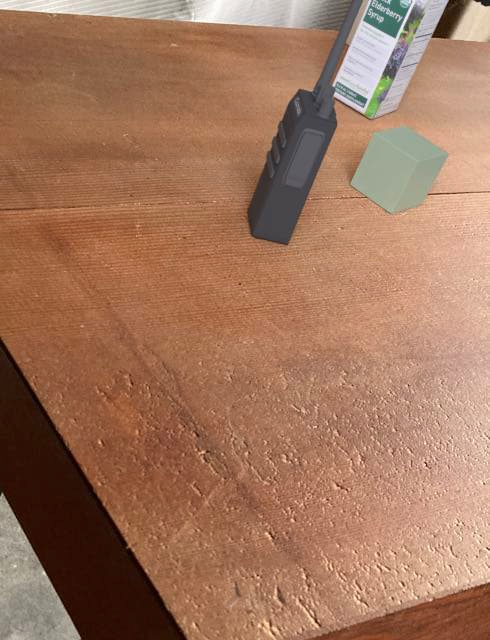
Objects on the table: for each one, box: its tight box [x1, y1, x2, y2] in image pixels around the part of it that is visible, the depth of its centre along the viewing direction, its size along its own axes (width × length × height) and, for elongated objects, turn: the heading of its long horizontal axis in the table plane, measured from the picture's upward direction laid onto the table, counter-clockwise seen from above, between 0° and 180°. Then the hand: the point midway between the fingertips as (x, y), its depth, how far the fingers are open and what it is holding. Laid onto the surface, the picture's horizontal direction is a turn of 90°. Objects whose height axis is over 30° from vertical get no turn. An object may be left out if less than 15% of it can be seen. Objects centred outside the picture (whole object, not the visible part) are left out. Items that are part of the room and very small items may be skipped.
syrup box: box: [331, 0, 449, 120], centre depth 97 cm, size 6×6×14 cm
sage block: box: [349, 125, 450, 215], centre depth 87 cm, size 5×5×5 cm
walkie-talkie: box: [247, 0, 363, 246], centre depth 72 cm, size 5×3×20 cm
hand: (485, 2), depth 103 cm, fingers closed
